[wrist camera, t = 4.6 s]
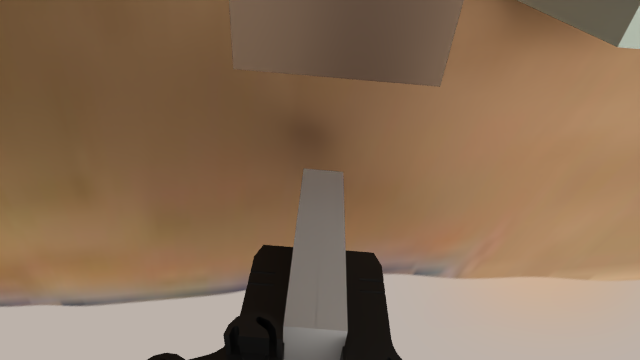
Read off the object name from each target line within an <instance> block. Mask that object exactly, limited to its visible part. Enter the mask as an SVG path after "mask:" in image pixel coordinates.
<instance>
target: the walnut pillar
mask: <svg viewBox="0 0 640 360" xmlns="http://www.w3.org/2000/svg"><path fill="white" fill-rule="evenodd" d="M463 1H464V0H229V9H230V25H231V41H232V57H233V69H239V70H251V71H262V72H274V73H286V74H298V75H309V76H321V77H333V78H345V79H356V80H368V81H380V82H392V83H403V84H415V85H427V86H439V87H440V85H441V81H442V78H443V74H444V70H445V67H446V63H447V59H448V56H449V52H450V48H451V45H452V41H453V37H454V34H455V30H456V26H457V23H458V19H459V15H460V12H461V8H462V5H463Z"/></svg>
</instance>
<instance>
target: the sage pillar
mask: <svg viewBox="0 0 640 360" xmlns="http://www.w3.org/2000/svg"><path fill="white" fill-rule="evenodd" d="M517 1H519V2H522V3H524V4H526V5H528V6H530V7H532V8H534V9H537V10H539V11H541V12H543V13H545V14H547V15H550V16H552V17H554V18H556V19H558V20H560V21H562V22H565V23H567V24H569V25H571V26H573V27H575V28H578V29H580V30H582V31H584V32H586V33H588V34H590V35H593V36H595V37H597V38H599V39H601V40H603V41H606V42H608V43H610V44H612V45H614V46H616V47H622V48H634V49H640V0H517Z"/></svg>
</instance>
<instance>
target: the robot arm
mask: <svg viewBox="0 0 640 360" xmlns="http://www.w3.org/2000/svg"><path fill="white" fill-rule="evenodd" d="M224 342H225V346H224V347H223V348H221V349H220V350H218V351H217V352H215V353H212V354H209V355H206V356H202V357H198V358H194V359H190V360H402V359H401V358H400V357H399V355H398V354H397V353H396V351H395V349H394V347H393V344H392V340H391V335H390V328H389V319H388V312H387V304H386V296H385V289H384V283H383V273H382V266H381V264H380V262H379V261H378V259H377V258H376V256H375V254H374V253H369V252H357V251H345V215H344V179H343V172H339V171H327V170H315V169H303V177H302V185H301V193H300V201H299V208H298V216H297V224H296V232H295V239H294V247H284V246H271V245H263V246H262V248H261V249H260V250H259V251H258V253H257V254H256V255H255V256H254V260H253V264H252V268H251V273H250V276H249V280H248V285H247V289H246V293H245V297H244V302H243V305H242V310H241V314H240V316H238V317H236V318H235V319H234V320H233V321H232V322H231V323H230V324H229V325H228V327H227V329H226V331H225V333H224ZM148 360H185V359H184V358H182V357H180V356H179V355H177V354H170V353H163V354H159V355H155V356H153V357H151V358H149V359H148Z"/></svg>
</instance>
